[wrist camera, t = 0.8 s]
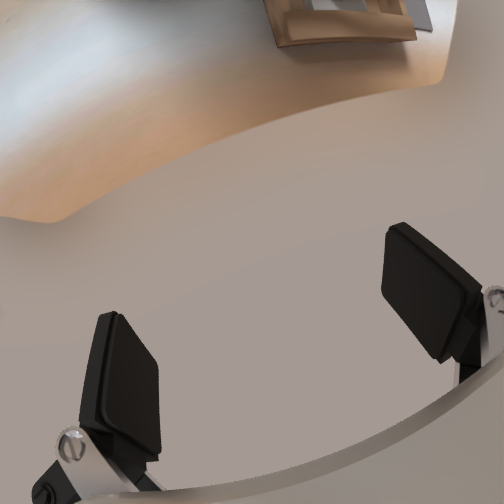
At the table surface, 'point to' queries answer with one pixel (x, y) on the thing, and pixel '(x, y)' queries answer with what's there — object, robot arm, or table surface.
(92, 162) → the table surface
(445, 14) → the table surface
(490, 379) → the robot arm
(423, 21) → the rubber mat
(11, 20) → the table surface
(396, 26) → the walnut box
